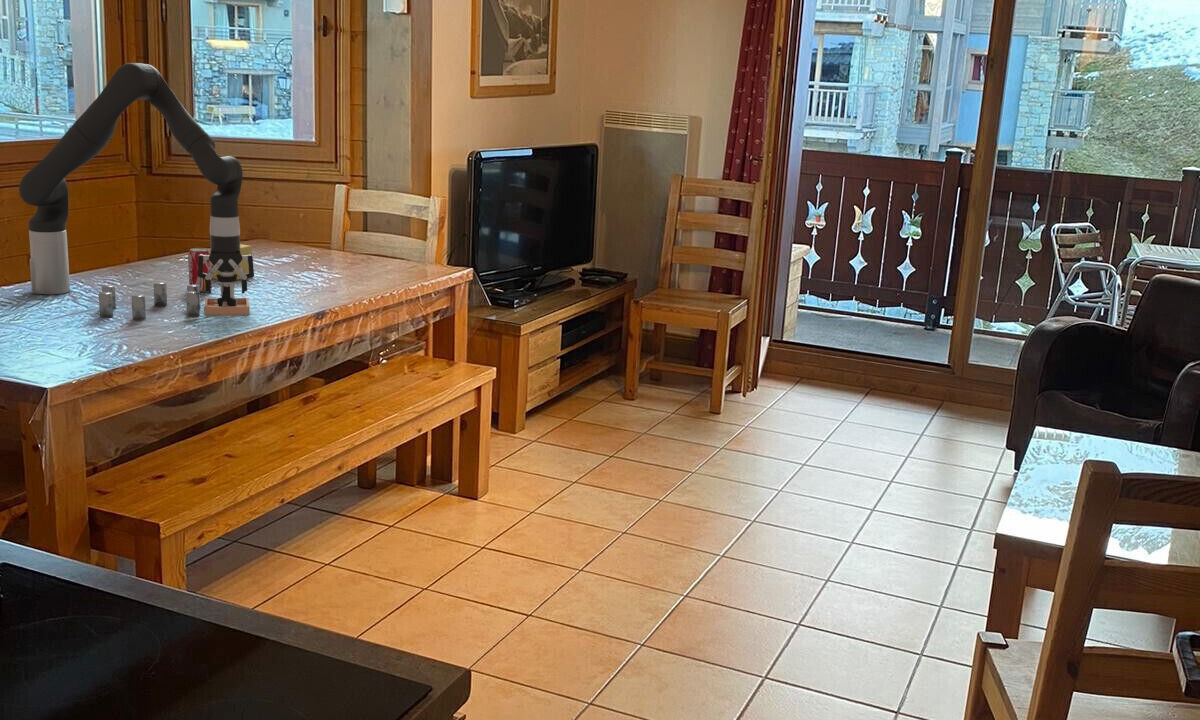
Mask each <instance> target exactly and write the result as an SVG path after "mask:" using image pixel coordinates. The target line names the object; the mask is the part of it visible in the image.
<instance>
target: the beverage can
mask: <svg viewBox="0 0 1200 720" xmlns="http://www.w3.org/2000/svg"><path fill="white" fill-rule="evenodd" d="M209 250H210V248H205V247H194V248H193V247H192V248H190V249H189V252H188V254H187V261H188V262H187V263H188V264H187V265H188V285H199V286H200V293H205V292H207V291H206V289H205V279H204V278H200V277H198V257H199V254H203V255H210V252H209ZM210 268H211V261H210V260H209V259H208V260H207V261H206V263H203V273H206V274H207V272H208V271H209V270H210ZM210 279H211V290H212V289H213V280H212V279H213V278H212V277H211V278H210Z"/></svg>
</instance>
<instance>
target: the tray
mask: <svg viewBox="0 0 1200 720" xmlns="http://www.w3.org/2000/svg"><path fill="white" fill-rule="evenodd" d="M218 298H219V297H211V298H210V297H205V298H204V315H205V316H213V315H214V316H222V315H223V316H225V315H226V316H227V315H228V316H229V315H230V316H231V315H238V316H239V315H250V314H251V313H250V302H249V301H250V300H249V297H235V299H237V306H222V307H218V305H214V304H218V303H217V302H214V301H217V299H218Z"/></svg>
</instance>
